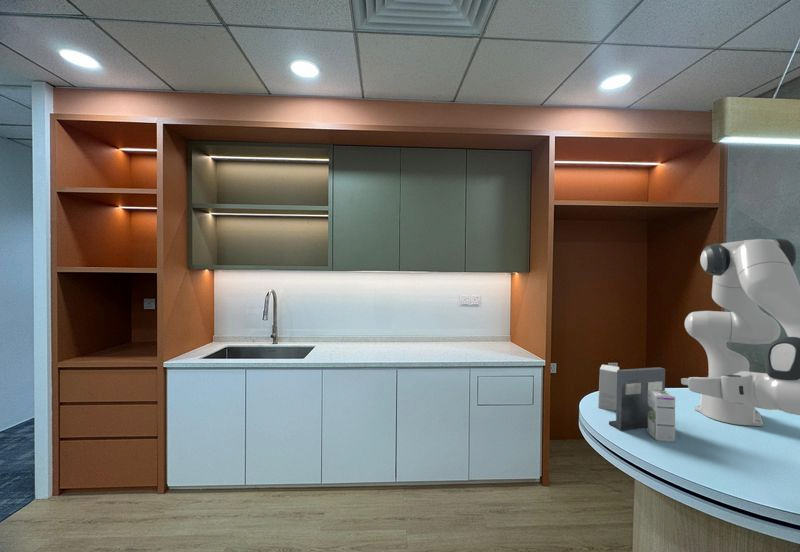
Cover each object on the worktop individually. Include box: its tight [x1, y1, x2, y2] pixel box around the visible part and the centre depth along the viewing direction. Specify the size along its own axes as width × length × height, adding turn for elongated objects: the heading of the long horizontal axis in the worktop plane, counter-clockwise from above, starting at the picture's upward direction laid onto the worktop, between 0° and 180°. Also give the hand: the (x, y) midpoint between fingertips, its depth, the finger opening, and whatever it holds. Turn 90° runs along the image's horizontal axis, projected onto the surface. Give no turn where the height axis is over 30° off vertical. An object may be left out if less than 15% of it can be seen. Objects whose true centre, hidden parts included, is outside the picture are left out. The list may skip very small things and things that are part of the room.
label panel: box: [608, 366, 666, 432], centre depth 124 cm, size 18×5×20 cm, turn 103°
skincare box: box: [597, 364, 620, 412], centre depth 141 cm, size 8×7×16 cm
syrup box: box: [647, 390, 676, 443], centre depth 115 cm, size 6×6×14 cm
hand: (694, 381), depth 106 cm, fingers open, 8 cm apart
